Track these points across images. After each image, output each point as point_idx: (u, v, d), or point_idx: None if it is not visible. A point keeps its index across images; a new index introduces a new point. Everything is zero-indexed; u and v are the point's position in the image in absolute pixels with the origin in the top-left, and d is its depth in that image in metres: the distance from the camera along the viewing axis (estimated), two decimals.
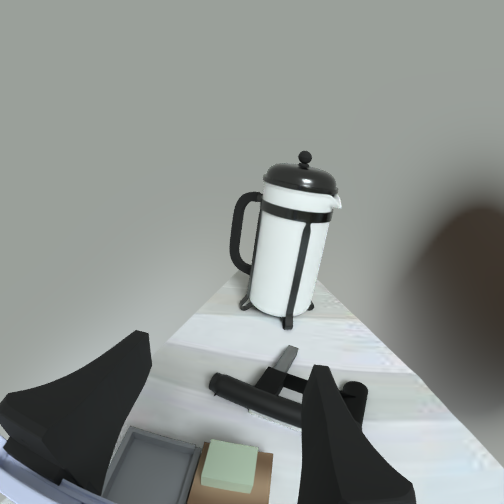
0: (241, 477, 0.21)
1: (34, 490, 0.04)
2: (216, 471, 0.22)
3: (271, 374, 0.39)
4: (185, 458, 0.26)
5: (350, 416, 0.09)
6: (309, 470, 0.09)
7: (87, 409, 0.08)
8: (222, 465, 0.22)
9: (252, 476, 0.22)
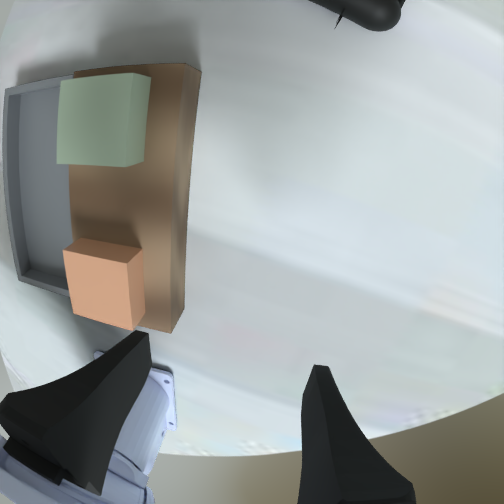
0: (107, 151, 0.13)
1: (34, 490, 0.04)
2: (72, 147, 0.13)
3: None
4: None
5: (350, 416, 0.09)
6: (309, 470, 0.09)
7: (87, 409, 0.08)
8: (78, 132, 0.13)
9: (123, 146, 0.13)
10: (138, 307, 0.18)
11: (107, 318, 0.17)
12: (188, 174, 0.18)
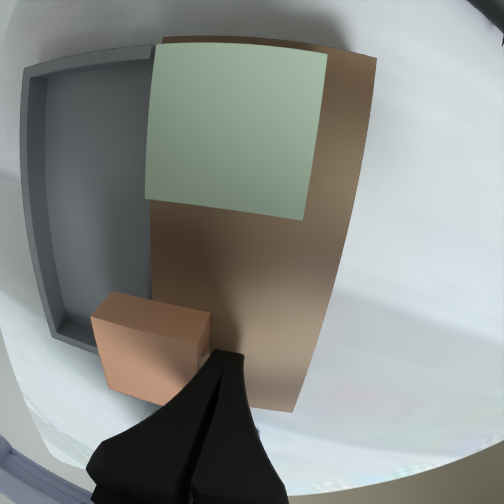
0: (265, 189, 0.08)
1: (34, 490, 0.04)
2: (184, 172, 0.08)
3: None
4: (145, 79, 0.11)
5: (245, 404, 0.09)
6: None
7: (194, 444, 0.07)
8: (200, 145, 0.08)
9: (302, 184, 0.08)
10: None
11: (160, 399, 0.12)
12: None
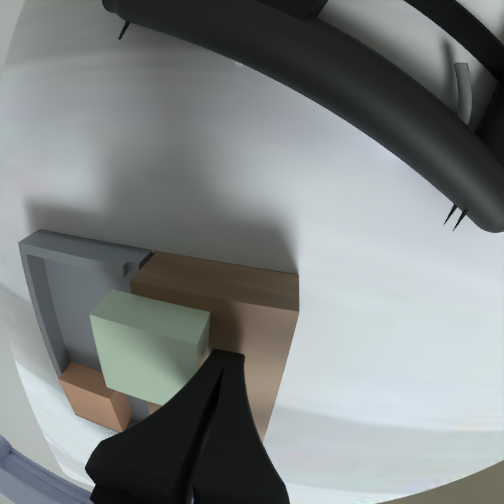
0: None
1: (34, 490, 0.04)
2: (125, 383, 0.12)
3: None
4: None
5: (246, 404, 0.09)
6: None
7: (193, 444, 0.07)
8: (131, 374, 0.12)
9: None
10: None
11: None
12: None
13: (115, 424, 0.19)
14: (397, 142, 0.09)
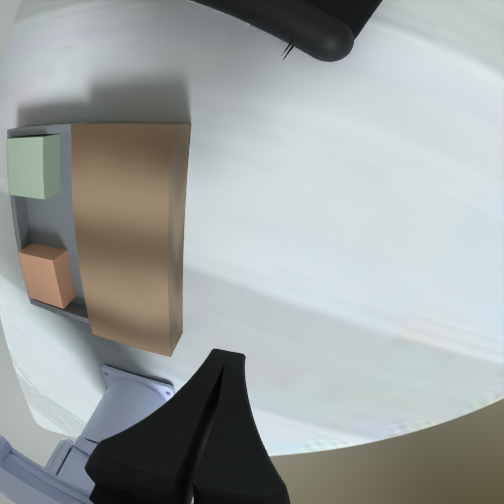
0: None
1: (34, 490, 0.04)
2: None
3: None
4: None
5: (246, 404, 0.09)
6: None
7: (193, 444, 0.07)
8: None
9: None
10: None
11: None
12: (182, 220, 0.20)
13: (57, 298, 0.22)
14: (225, 3, 0.12)
